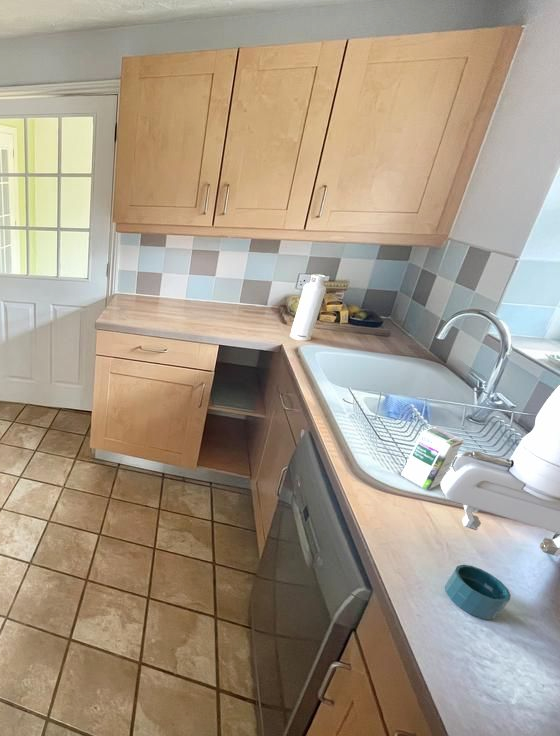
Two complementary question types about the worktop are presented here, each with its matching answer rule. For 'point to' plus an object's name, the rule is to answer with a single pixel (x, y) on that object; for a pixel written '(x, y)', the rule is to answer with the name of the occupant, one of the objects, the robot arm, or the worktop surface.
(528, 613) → the worktop surface
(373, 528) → the worktop surface
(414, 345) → the worktop surface
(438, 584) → the worktop surface
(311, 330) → the bottle
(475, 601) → the bowl
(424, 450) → the syrup box
